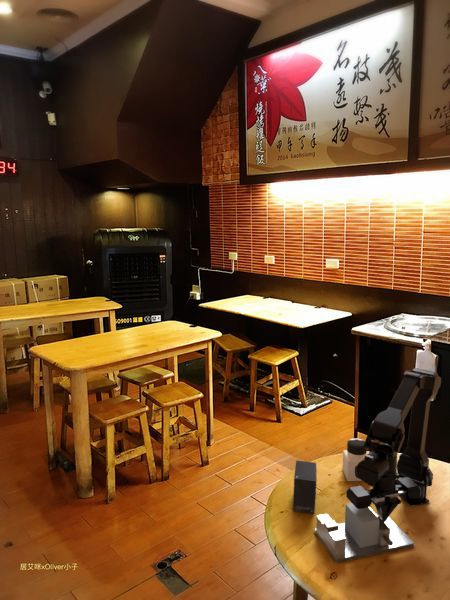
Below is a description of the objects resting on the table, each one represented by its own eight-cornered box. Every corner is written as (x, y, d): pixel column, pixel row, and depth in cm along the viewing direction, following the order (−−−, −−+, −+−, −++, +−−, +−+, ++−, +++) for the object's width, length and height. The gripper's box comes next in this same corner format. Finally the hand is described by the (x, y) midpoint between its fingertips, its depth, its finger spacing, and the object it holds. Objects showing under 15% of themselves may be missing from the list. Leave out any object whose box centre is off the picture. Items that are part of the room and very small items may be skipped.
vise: (386, 518, 133) (388, 497, 132) (414, 546, 122) (415, 524, 120) (314, 531, 127) (315, 510, 126) (335, 563, 116) (336, 540, 115)
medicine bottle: (369, 481, 151) (371, 446, 149) (347, 481, 151) (348, 446, 149) (363, 469, 158) (365, 436, 156) (342, 469, 158) (343, 436, 156)
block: (361, 524, 129) (362, 501, 127) (378, 544, 121) (379, 519, 120) (344, 527, 127) (345, 504, 126) (360, 547, 120) (361, 522, 119)
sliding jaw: (363, 515, 132) (363, 500, 132) (394, 551, 118) (395, 535, 118) (355, 516, 132) (355, 502, 131) (386, 553, 118) (387, 537, 117)
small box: (315, 514, 135) (316, 480, 133) (292, 512, 136) (293, 478, 134) (316, 493, 145) (317, 461, 143) (294, 491, 146) (295, 459, 144)
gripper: (397, 447, 132) (394, 498, 135) (336, 457, 128) (335, 509, 130) (423, 467, 122) (420, 522, 124) (358, 479, 117) (356, 535, 120)
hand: (382, 521), depth 125 cm, fingers closed
